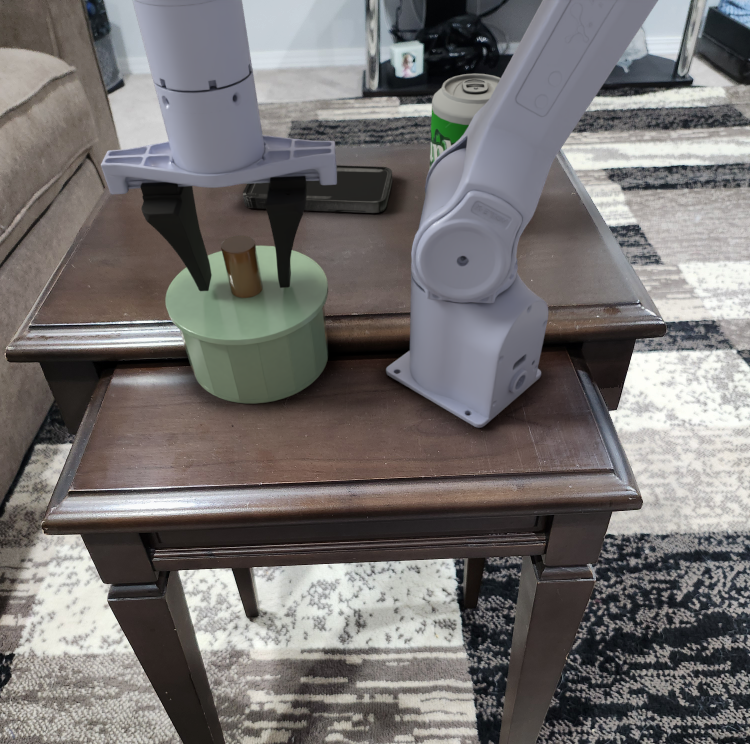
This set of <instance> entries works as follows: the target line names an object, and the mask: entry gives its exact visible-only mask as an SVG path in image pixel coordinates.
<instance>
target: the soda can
mask: <svg viewBox="0 0 750 744" xmlns="http://www.w3.org/2000/svg"><path fill="white" fill-rule="evenodd" d="M500 79H501V77H499V76H496V75H492V74H487V73H486V74H485V73H466V74H465V73H464V74H460V75H455V76H452V77H450V78H448V79H447V80H445V81H444V82H443V83H442V85H441V88H439V89H438V90H437V91H436V92H434V94H433V97H432V99H431V118H430V120H431V121H430V148H429V169H430V168H431V166H432V164H433V162H434V161H435V160H436V158H437V157H438V156H439V155H440V154H441V153H442V152H443V151H445V150H446V149H447V148H449V147H450V146H452V145H453V144H455V143H456V142H457V141H458V140H459V139H460V138H461V137H462V135H463V134H464V133H465V131H466V130H467V128H468V126H469V124H470V122H471V121H472V119H473V117H474V115H475V114H476V113H477V112H478V111H479V110H480V109H481V108H482V107H483V106H484V105H485V104H486V103H487V102H488V100H489V99H490V97H491V96H492V94H493V92H494V90H495V88H496V86H497V84H498V83H499V81H500Z"/></svg>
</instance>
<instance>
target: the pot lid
mask: <svg viewBox="0 0 750 744" xmlns="http://www.w3.org/2000/svg"><path fill="white" fill-rule="evenodd" d="M207 255H208V259H209V263H210V268H211V274H212V276H211V281H210V286H209V290H208V291H199V289H198V287H197V285H196V283H195V281H194V279H193V278H192V276H191V274H190V272H189V271H188V269H187V267H186V266H185V267H184V268H183V269H182V270H181V271H180V272H179V273H178V274H177V275H176V276H175V277H174V278H173V280H172V281H171V282H170V284H169V286H168V288H167V290H166V294H165V298H164V299H165V300H164V301H165V307H166V311H167V314H168V317H169V318H170V320H171V322H172V324H174V325H175V327H176V328H177V329H179V331H180V330H181V331H182V332H184V333H186V334H187V335H189V336H191V337H193V338H196V339H198V340H201V341H205V342H209V343H214V344H221V345H248V344H256V343H262V342H267V341H270V340H274V339H277V338H280V337H283V336H286V335H288V334H290V333H292V332H295V331H296V330H298V329H300V328H302V327H303V326H305V325H306V324H307V323H309V322H310V321H311V320H312V319H313V318H315V317H316V316H317V314H318V313H319V312H320V311H321V310H322V308H323V306H324V307H325V305H326V302H327V299H328V297H329V296H328V295H329V283H328V278H327V275H326V272H325V271H324V270H323V268H322V267H321V265H319V263H317V261H316V260H314V259H313V258H311V257H309V256H308V255H306V254H304V253H302V252H299V251H297V250H294V249H292V252H291V258H290V264H291V279H290V287H287V288H280V285H279V280H278V272H277V259H276V249H275V245H274V246H273V245H256V241H255V239H254V238H253V237H251V236H248V235H244V234H243V235H241V234H239V235H232V236H229V237H227V238H226V239H224V240H223V241H222V242H221V244H220V251H216V252H214V253H211V254H207Z"/></svg>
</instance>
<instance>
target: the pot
mask: <svg viewBox="0 0 750 744" xmlns="http://www.w3.org/2000/svg"><path fill="white" fill-rule="evenodd" d="M179 332H180V333H179V334H180V336H181V339H182V342H183V345H184V349H185V352H186V355H187V358H188V362H189V364H190V368H191V370H192V372H193V374H194V378H195V379H196V381H197V383H198V384H199V385H200V386H201V388H203V389H204V390H205V391H206V392H207V393H209V394H211V395H212V396H214V397H216V398H219V399H220V400H221V399H222V400H224V401H228V402H233V403H238V404H265V403H270V402H276V401H279V400H283V399H286V398H289V397H292V396H294V395H296V394H298V393H300V392H302V391H304V389H307V388H308V387H309V386H310V385H312V384H313V383H314V382H315V381H316V380H317V379H318V378H319V377H320V375H321V374H322V373H323V372H324V371H325V368H326V366H327V364H328V363H327V362H328V358H329V339H328V330H327V320H326V310H325V305H324V306H323V308H322V310H321V311H320V312H319V313H318V314H317V316H316V317H315V318H313V319H312V320H311V321H310V322H309V323H307V324H306V325H305V326H303V327H302V328H300V329H298V330H296V331H295V332H292V333H290V334H288V335H286V336H283V337H280V338H277V339H274V340H270V341H267V342H262V343H256V344H248V345H221V344H214V343H209V342H205V341H201V340H198V339H196V338H193V337H191V336H189V335H187V334H186V333H184V332H182V331H181V330H180V329H179Z"/></svg>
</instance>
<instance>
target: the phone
mask: <svg viewBox="0 0 750 744" xmlns="http://www.w3.org/2000/svg"><path fill="white" fill-rule="evenodd" d="M336 165H337V184H336V185H321V184H320V181H307V196H306V205H305V209H304V211H310V212H311V211H312V212H313V211H315V212H337V213H339V212H340V213H365V214H378V213H381V212H385V210H386V209H387V206H388V201H389V197H390V194H391V189H392V185H393V170H392V169H391V168H389V167H387V166H373V165H371V166H369V165H342V164H341V165H339V164H336ZM268 189H269V183H252V184H245V187H244V189H243V191H242V197H243V203H244V206H245V207H247V208H249V209H264V210H267V209H266V200H267V193H268Z"/></svg>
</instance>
